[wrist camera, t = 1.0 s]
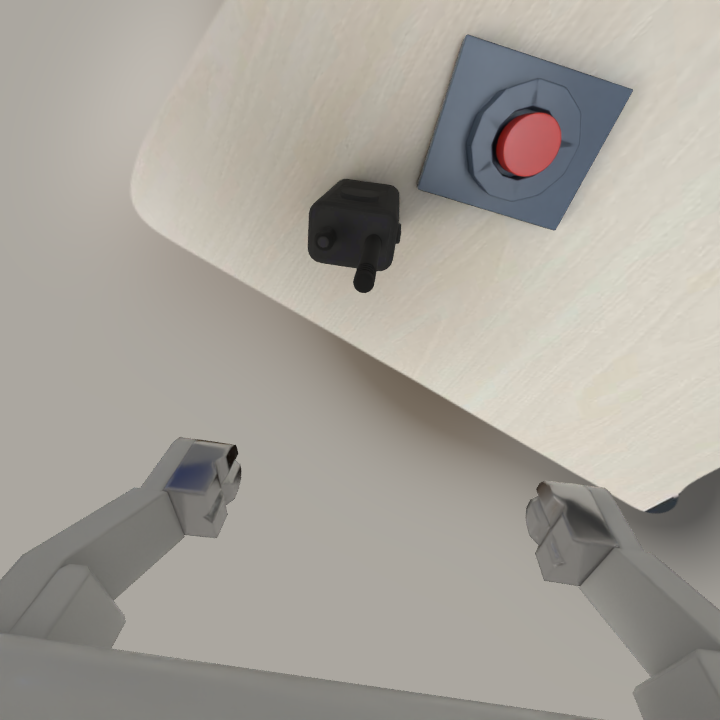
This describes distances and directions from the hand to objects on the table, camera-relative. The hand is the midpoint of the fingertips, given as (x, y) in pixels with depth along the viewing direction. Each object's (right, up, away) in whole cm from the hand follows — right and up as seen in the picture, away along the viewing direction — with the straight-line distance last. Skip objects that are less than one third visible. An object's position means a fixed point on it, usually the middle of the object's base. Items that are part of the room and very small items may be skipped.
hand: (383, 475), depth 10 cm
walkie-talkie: (0, +15, +16) cm, 22 cm away
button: (+9, +16, +11) cm, 21 cm away
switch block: (+9, +17, +13) cm, 24 cm away
